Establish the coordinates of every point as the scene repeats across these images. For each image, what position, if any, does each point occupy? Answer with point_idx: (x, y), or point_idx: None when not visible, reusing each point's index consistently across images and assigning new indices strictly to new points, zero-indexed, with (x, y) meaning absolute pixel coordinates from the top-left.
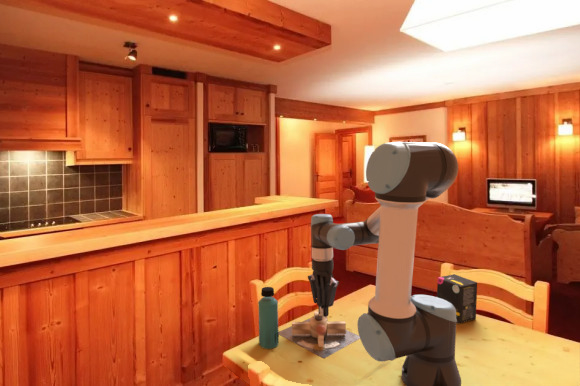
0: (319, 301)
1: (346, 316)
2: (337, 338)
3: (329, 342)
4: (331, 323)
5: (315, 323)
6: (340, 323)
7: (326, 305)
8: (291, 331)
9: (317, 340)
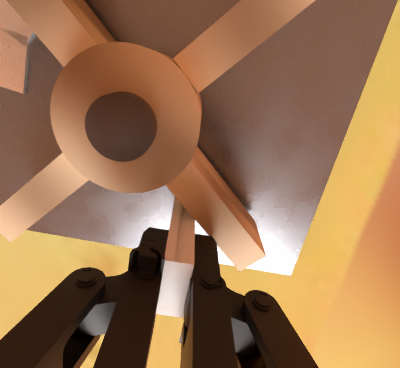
0: (196, 308)
1: (178, 353)
2: (43, 134)
3: (45, 63)
4: (51, 165)
5: (105, 45)
6: (6, 200)
7: (98, 281)
8: (323, 38)
9: (113, 37)
